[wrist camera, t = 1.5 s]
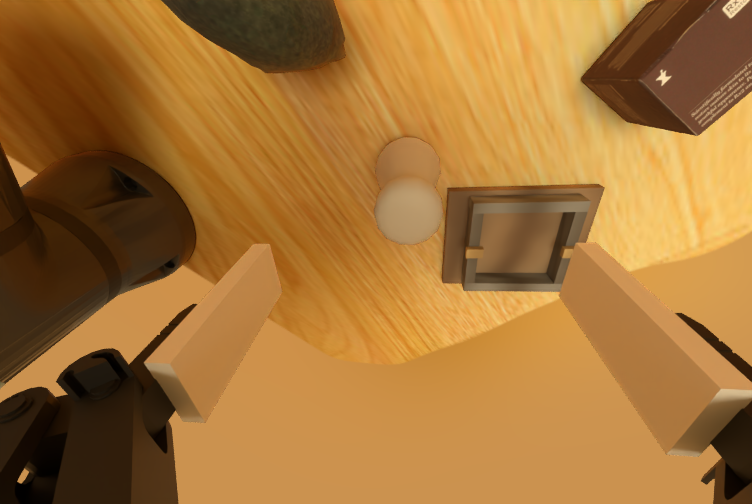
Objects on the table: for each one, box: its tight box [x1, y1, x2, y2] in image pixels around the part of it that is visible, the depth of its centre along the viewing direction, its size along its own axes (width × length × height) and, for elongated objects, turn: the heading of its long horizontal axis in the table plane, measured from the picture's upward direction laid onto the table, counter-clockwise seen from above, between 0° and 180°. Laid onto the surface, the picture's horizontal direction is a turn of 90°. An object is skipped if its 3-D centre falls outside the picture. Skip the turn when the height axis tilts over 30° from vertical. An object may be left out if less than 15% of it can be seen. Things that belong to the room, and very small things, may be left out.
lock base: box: [442, 184, 604, 292], centre depth 30 cm, size 14×11×4 cm
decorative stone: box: [162, 0, 346, 73], centre depth 18 cm, size 10×6×15 cm, turn 63°
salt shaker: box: [374, 137, 443, 245], centre depth 23 cm, size 6×6×13 cm
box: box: [581, 0, 752, 136], centre depth 20 cm, size 6×6×7 cm
